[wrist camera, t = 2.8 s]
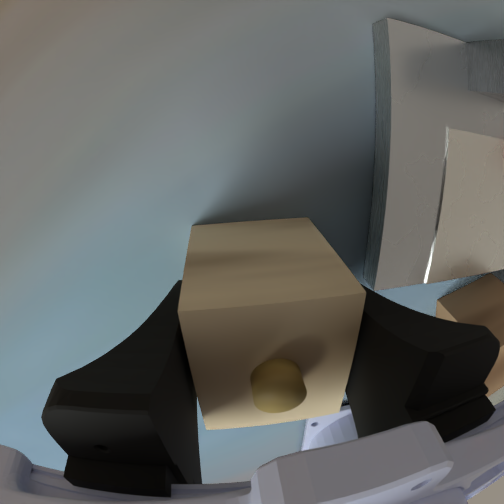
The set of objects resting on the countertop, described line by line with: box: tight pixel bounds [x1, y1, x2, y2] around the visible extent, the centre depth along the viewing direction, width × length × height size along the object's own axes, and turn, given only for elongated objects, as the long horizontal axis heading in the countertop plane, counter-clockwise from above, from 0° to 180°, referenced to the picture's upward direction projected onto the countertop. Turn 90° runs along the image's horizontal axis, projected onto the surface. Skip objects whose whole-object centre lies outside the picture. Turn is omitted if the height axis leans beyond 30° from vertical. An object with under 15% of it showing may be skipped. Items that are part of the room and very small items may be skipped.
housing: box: [178, 217, 366, 430], centre depth 10 cm, size 5×4×6 cm
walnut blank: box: [436, 273, 504, 397], centre depth 14 cm, size 5×4×5 cm
